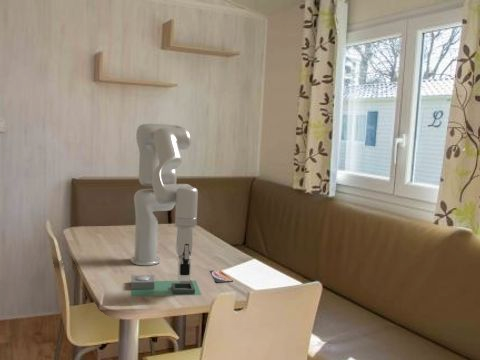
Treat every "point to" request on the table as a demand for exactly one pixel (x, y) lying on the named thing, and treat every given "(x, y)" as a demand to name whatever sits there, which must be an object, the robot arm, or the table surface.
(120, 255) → the table surface
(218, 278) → the smartphone
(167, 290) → the board
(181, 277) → the plug
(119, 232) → the table surface
